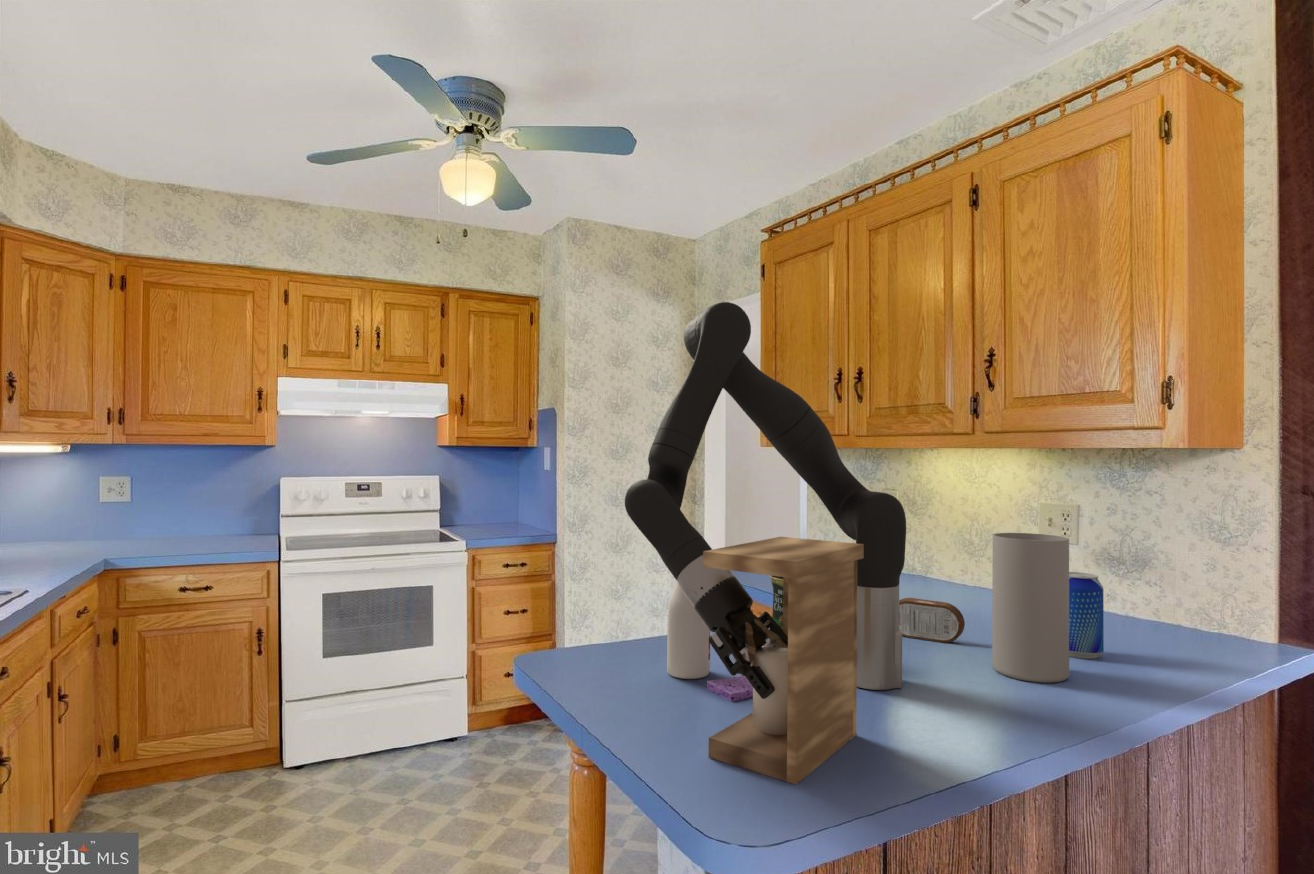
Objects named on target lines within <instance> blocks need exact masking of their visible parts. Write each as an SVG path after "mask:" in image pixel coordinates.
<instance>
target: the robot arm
mask: <svg viewBox="0 0 1314 874" xmlns="http://www.w3.org/2000/svg"><path fill="white" fill-rule="evenodd" d="M751 324H752V323H751V320H750V318H749V316H748V314H747V313H746V311H745V310H744V309H743V307H741V306H739V305H737V304H736V303H733V302H728V301H722V302H718V303H715V304H713V305H711V306H709V307H707V308H705V309H704V310H703V311H702V312H700V313H699V314H698V315H697V316H695V317H694V318H692V319H691V320H690V321H689V322H688V324H687V325H686V326H685V329H684V332H683V341H684V346H685V349H686V351H687V352H688V354H689V356H690V357H691V358H692V360H693V363H692V364H691V367H690V369H689V372H688V374H687V375H686V378H685V379H684V381H683V383H682V385H681V387H680V389H679V390H678V392H677V394H676V395H675V396H674V398H673V400H672V401H671V403H670V405H669V406H668V409H667V410H666V412H665V414H664V416H663V418H662V420H661V422H660V424H659V426H658V430H657V432H656V434H655V437H654V439H653V442H652V443H651V446H650V448H649V453H648V458H647V462H648V466H649V471H648V476H647V479H641V480H637V481H635V482H634V483H632V484H631V485H630V486H629V488H628V489H627V491H626V493H625V496H624V508H625V510H626V513H627V515H628V518H630V520H631V521H632V522H633V524H634V526H636V527H637V529H638V530H639V531H640V533H641V534H642V535H643V536H644V537H645V538H646V540H647V541H648V542H649V543H650V544H651V545H652V547H654V549H655V551H656V552H657V553H658V555H659V557H660V558H661V560H662V563H664V565H665V566H666V568H667V569H668V571H669V572H670V573H671V575H672V577H674V579H675V580H676V583H677V582H678V583H679V585H680V587H681V589H682V591H683V593H684V594H685V596H686V597H687V599H688V600H689V602H690V603H691V604H692V606H693V607H694V608H695V610H696V611H697V613H698V614H699V615H700V617H701V618H702V620H703V621H704V622H705V624H706V625H707V627H708V628H709V629H710V633H712V634H711V635H710V638H709V639H708V640H709V642H710V646H711V647H712V649H713V650H714V651H715V653H716V654H717V656H718V658H719V659H720V661H721V662H722V663H723V665H724V666H725V668H726V670H727V671H728V673H729V674H730V675H731V676H734V677H736V675H737V674H738V675H740V676H743V677H744V676H745V677H746V678H747V679H748V681H749V682H750V683H751V685H752V686H753V688H754V689H755V690H756V692H757V693H758V694H759V695H760V697H761V698H762V699H765V698H767V697H769V696H770V695H771V694H772V693H773V692H774V691H775V687H774V686H773V684H772V683H771V682H770V680H769V679H768V678H767V676H766V675H765V674H764V672H763V671H762V669H761V668H760V667H759V666H757V667H756V665H757V663H756V659H755V655H754V653H755V651H756V649H757V648H761V647H782V648H787V649H788V637H787V635H786V634H785V633H784V632H783V630H782V629H781V628H780V627H779V625H778V624H777V623H776V622H775V621H774V619H773V618H772V615H771V614H769V612H767V611H764V612H762V613H761V614H760V615H759V616H757V615H756V614H755V613H753V611H752V610H751V608H752V605H753V602H754V601H753V598H752V597H751V595H750V594H749V592H748V591H747V590H746V589H745V587H744V585H742V584H741V583H740V580H739V579H737V577H736V576H735V574H734V573H733V572H732V570H724V569H717V568H709V567H703V551H708V550H713V548H712V547H711V545H709V543H708V542H707V540H706V539H705V538H704V536H702V534H701V533H700V532H699V531H698V529H696V528H695V527H694V526H693V525H692V524H691V523H690V522H689V520H688V519H687V517H686V516H685V515H684V513H683V511H682V509H681V507H682V504H683V500H684V495H685V491H686V486H687V480H688V474H689V471H690V468H691V467H692V464H693V462H694V459H695V457H696V454H697V452H698V449H699V446H700V444H701V440H702V437H703V436H704V433H705V430H706V427H707V425H708V421H709V420H710V417H711V415H712V413H713V410H714V408H715V406H716V403H717V401H718V399H719V397H720V395H721V393H722V391H723V390H724V391H725V392H727V394H728V395H730V397H731V398H732V399H733V400H734V402H736V404H737V405H738V406H739V408H741V410H742V411H743V412H744V413H745V414H746V416H747V417H748V418H749V419H750V420H751V421H752V423H753V424H754V425H755V426H756V427H757V428H758V429H759V430H760V432H761V433H762V434H763V435H764V437H765V438H766V439H767V440H768V442H769V443H770V444H771V446H773V448H774V449H775V450H776V451H777V452H778V453H779V455H781V457H782V458H783V459H784V460H785V461H786V462H787V463H788V464H789V465H790V466H791V467H792V468H793V470H794V471H795V472H796V473H797V474H798V476H800V477H801V479H802V480H803V481H804V482H805V483H807V485H808V486H809V487H810V488H811V489H812V490H813V492H814V493H815V494H816V495H817V496H818V498H819V499H820V500H821V502H822V503H823V504H824V506H825V508H826V509H827V511H828V512H829V513H830V515H831V516H832V518H833V520H834V521H835V523H836V524H837V526H838V527H839V528H840V529H841V530H842V532H843V533H844V534H845V535H846V536H847V537H849V538H850V539H852V540H853V541H855V543H857V544H864V558H862V559H859V560H857V688H859V689H860V688H862V689H866V690H874V691H876V690H877V691H886V690H891V689H902V688H903V635H902V632H901V631H900V629H899V600H900V579H901V578H900V577H901V574H902V573H903V570H904V567H905V559H906V542H907V541H906V540H907V517H906V513H905V509H904V506H903V504H902V503H901V502H900V500H899V499H898V498H897V497H895V496H894V495H892V494H889V493H885V492H881V491H871V490H869V489H868V488H866V487H865V486H864V485H863V484H862V483H861V482H860V481H859V480H858V479H857V478H856V477H855V475H854V474H852V472H850V470H849V469H848V468H847V467H846V466H845V464H844V462H843V461H842V459H841V457H840V455H839V453H838V450H837V447H836V445H835V441H834V439H833V437H832V434H831V432H830V430H829V429H828V427H827V426H826V424H825V423H824V421H823V420H822V418H821V417H820V416H819V415H818V414H817V413H816V411H815V410H814V409H813V408H812V407H811V405H810V404H809V403H808V402H807V401H806V400H805V399H804V397H802V396H801V395H799V394H798V393H796V392H795V391H794V390H792V389H791V388H789V387H788V386H786V385H785V384H782V383H781V382H779V381H777V380H776V379H773V378H772V377H770V376H769V375H767V374H766V373H764V372H763V371H762V370H760V368H758V367H757V366H756V365H755V364H754V363H753V362H752V361H751V359H749V357H748V356H747V355H746V353H745V352H744V351H745V349H746V347H747V345H748V344H749V341H750V339H751V334H752V325H751ZM776 634H777V635H778V636H779V637H780V639H781V640H782V642H781V641H780V640H778V639H777V635H776ZM730 656H732V660H733V661H732V660H731V658H730ZM733 662H734V663H733Z"/></svg>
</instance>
